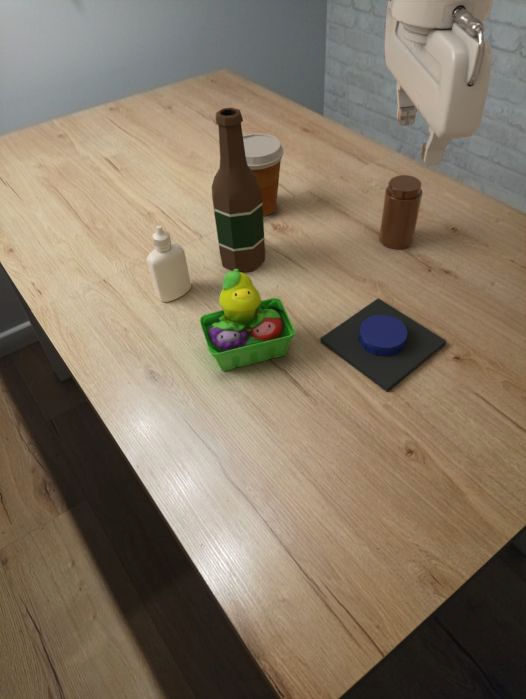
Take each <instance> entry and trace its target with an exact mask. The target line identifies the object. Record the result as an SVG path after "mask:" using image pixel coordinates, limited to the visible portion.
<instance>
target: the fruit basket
mask: <svg viewBox="0 0 526 699" xmlns="http://www.w3.org/2000/svg"><path fill="white" fill-rule="evenodd" d="M218 303H219V306H220V307H221V310H218V311H213V312H209V313H206V314H203V315H201V316H200V317H199V324H200V326H201V329H202V333H203V336H204V340H205V343H206V346H207V350H208V352H209V354H210V355H211V356H212V357H213V358H214V360H215V361H216V363H217V365H218V367H219V369H220V371H222V372H226V371H230V370H234V369H235V368H242V367H247V366H250V365H252V364H254V363H261V362H266V361H269V360H271V359H276V358H281V357H284V356H286V354H287V352H288V350H289V347H290V344H291V341H292V339H293V338H294V336H295V334H296V329H295V327H294V325H293V323H292V320H291V318H290V316H289V314H288V312H287V311H286V308H285V305H284V304H283V302H282V300H281V299H280V298H278V297H271V298H268V299H263V300H262V297H261V294H260V293H259V290H258V289H257V288H256V287H255V285H254V284H253V281H252V279H251V277H250V276H249V275H248V274H246V273H245V272H239V269H234V272H233V271H228V272H227V273H225V275H224V277H223V282H222V290H221V291H220V294H219V299H218Z"/></svg>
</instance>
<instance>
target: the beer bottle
mask: <svg viewBox="0 0 526 699" xmlns="http://www.w3.org/2000/svg"><path fill="white" fill-rule="evenodd" d="M215 113H216V114H215V124H216V125H218V126H217V127H218V142H219V143H218V144H219V145H218V147H219V168H218V169H217V172H216V173H215V174H214V176H213V180H212V183H211V184H212V185H211V199H212V206H213V213H214V221H215V226H216V227H215V228H216V235H217V243H218V250H219V255H220V261H221V266H222V267H223V268H225V269H227V270H229V271H230V272H234V269H239V272H242V273H247V272H254V271H256V270H257V269H258V268H259V267H260V266H261V265H262V264H263V263H264V262H265V261H266V242H265V240H266V239H265V226H264V225H265V224H264V216H263V205H262V196H261V190H260V187H259V183H258V180H257V178H256V176H255V174H254V172H253V171H252V170H251V169H250V167H249V166H248V165H247V161H246V155H245V148H244V141H243V135H244V134H243V128H242V127H243V126H242V122H244V119H243V115H242V113H241V109H239V108H234V107H225V108H221V109H220V110H217V112H215Z"/></svg>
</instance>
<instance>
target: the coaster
mask: <svg viewBox="0 0 526 699" xmlns="http://www.w3.org/2000/svg"><path fill="white" fill-rule="evenodd" d="M374 315H388V316H392V317H395V318H397V319H398V320H400V321H401V322H402V323H403V324H404V325H405V326H406V328H407V341H406V346H404V348H403V349H402V350H401V351H400V353H397V354H395V355H391V356H378V355H374V354H372V353H370V352H368V351H366V350H365V349H364V348H363V347H362V345H361V344H360V342H359V332H360V326H361V324H362V323H363V321H364V320H365V319H367V318H369V317H371V316H374ZM319 342H320V343H321V344H322V345H323V346H325V347H326V348H327V349H329V350H330V351H331V352H332V353H334V354H335V355H337V356H338V357H339V358H341V359H342V360H344V361H345V362H346V363H347V364H349V365H350V366H351V367H353V368H355V369H356V370H357V371H359V372H360V374H362V375H363V376H365V377H366V378H368V379H369V380H370V381H372V382H373V383H374V384H376V385H377V386H378V387H379V388H381V389H382V390H383V391H385V392H386V393H388V392H390V391H391V390H392V389H393V388H394V387H396V386H397V385H398V384H400V382H402V381H403V380H404V379H405V378H407V377H408V376H409V375H410V374H412V373H413V372H414V371H415V370H417V369H418V368H419V367H420V366H421V365H423V364H424V363H425V362H426V361H427V360H429V359H430V358H431V357H432V356H434V355H435V354H436V353H437V352H439V351H440V350H441V349H442V348H444V347H445V346H446V344H447V340H446V339H444V338H443V337H441V336H440V335H438V334H437V333H435V332H433V331H432V330H430V329H428V328H427V327H425V326H423V325H422V324H420V323H419V322H418V321H415V320H414V319H413V318H411V317H409V316H408V315H406V314H405V313H403V312H401V311H400V310H398V309H397V308H395V307H393V306H392V305H391V304H389V303H387V302H385V301H384V300H382V298H381V299H380V298H379V297H378V298H376V299H374V300H373V301H371V302H369V304H367V305H366V306H365V307H363V308H362V309H360V310H359V311H357V312H355V313H354V314H353V315H351V316H350V317H349V318H348V319H346V320H344V321H343V322H341V323H340V324H339V325H338V326H336V327H334V328H333V329H331V330H330V331H329V332H327V333H326V334H324V335H322V336H321V337H320V339H319Z"/></svg>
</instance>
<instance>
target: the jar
mask: <svg viewBox="0 0 526 699" xmlns="http://www.w3.org/2000/svg"><path fill="white" fill-rule="evenodd" d="M387 185H388V186H386V188H385V191H384V199H383V205H382V213H381V221H380V228H379V236H378V240H379V243H380V244H381V245H382V246H384V247H385V248H388V249H391V250H403V249H407V248H410V247H411V245H413V243H414V238H415V234H416V228H417V223H418V217H419V213H420V209H421V204H422V198H423V190H422V181H421V180H420V179H419V178H417V177H415V176H413V175H407V174H402V175H396V176H393V177H391V179H390V180H388V183H387Z"/></svg>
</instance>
